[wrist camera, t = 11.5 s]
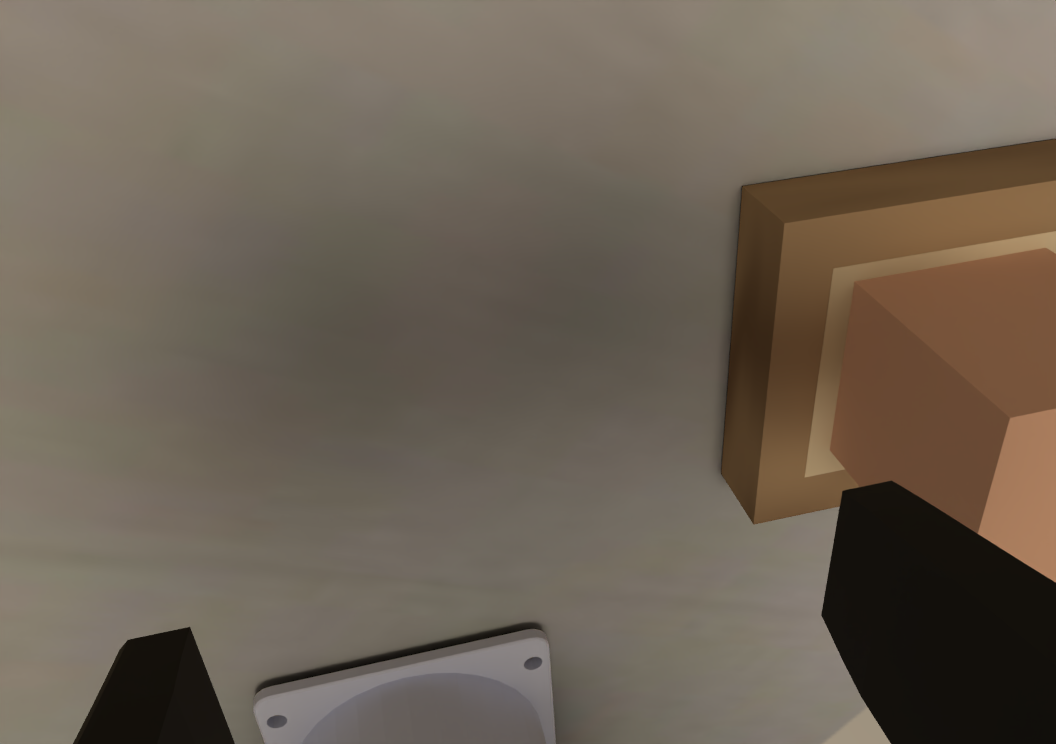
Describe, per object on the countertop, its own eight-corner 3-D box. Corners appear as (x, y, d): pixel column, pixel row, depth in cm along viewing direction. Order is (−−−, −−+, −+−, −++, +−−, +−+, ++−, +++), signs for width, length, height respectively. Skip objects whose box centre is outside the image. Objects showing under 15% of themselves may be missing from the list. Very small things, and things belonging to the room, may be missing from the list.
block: (1000, 414, 23) (1161, 557, 18) (829, 450, 22) (957, 606, 18) (1046, 247, 20) (1243, 369, 16) (854, 281, 19) (1010, 418, 15)
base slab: (994, 418, 26) (1044, 463, 24) (721, 473, 24) (754, 524, 23) (1072, 136, 21) (1139, 167, 19) (742, 186, 20) (784, 223, 18)
